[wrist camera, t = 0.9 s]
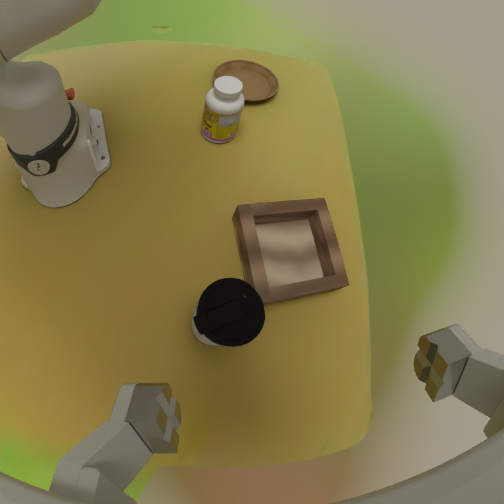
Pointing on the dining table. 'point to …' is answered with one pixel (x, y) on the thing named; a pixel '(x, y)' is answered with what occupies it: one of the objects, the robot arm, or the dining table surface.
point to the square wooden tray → (289, 249)
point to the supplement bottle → (222, 109)
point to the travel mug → (228, 314)
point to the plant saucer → (250, 78)
